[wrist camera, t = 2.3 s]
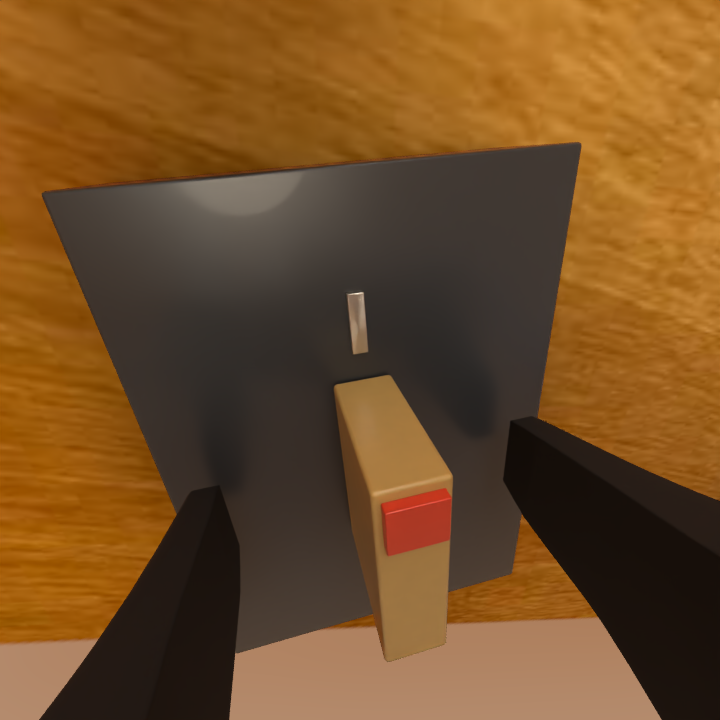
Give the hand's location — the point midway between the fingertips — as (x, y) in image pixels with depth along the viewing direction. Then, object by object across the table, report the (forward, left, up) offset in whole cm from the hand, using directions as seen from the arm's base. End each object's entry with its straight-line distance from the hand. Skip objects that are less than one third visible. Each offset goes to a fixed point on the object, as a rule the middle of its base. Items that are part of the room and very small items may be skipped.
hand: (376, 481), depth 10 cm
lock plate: (0, 0, -4) cm, 4 cm away
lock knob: (0, 0, -1) cm, 1 cm away
